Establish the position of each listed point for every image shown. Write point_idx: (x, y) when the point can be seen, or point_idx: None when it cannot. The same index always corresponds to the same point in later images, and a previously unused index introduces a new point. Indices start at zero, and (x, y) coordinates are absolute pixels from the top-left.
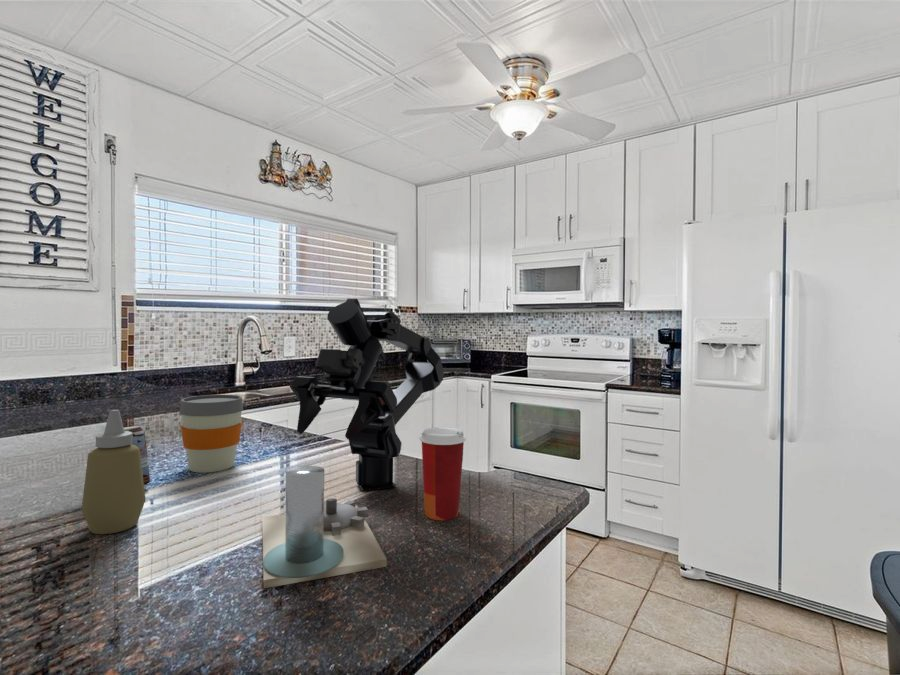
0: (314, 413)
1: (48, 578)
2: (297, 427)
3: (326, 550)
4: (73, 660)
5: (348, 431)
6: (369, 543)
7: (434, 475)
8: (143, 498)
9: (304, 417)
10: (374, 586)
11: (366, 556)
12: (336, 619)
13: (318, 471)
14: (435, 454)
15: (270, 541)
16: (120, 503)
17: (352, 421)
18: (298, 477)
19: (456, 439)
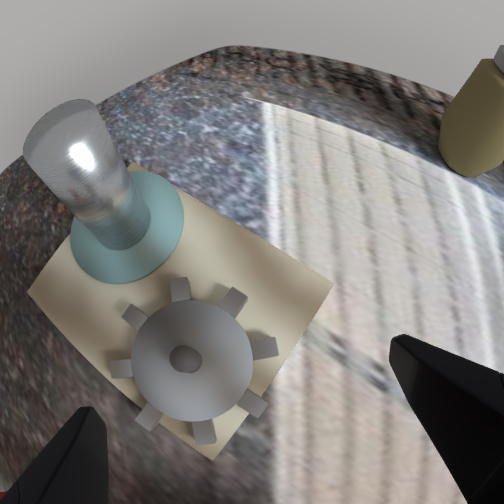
0: (474, 488)
1: (357, 79)
2: (415, 339)
3: (102, 251)
4: (195, 59)
5: (73, 421)
6: (67, 319)
7: (3, 494)
8: (468, 152)
9: (444, 387)
10: (28, 249)
11: (50, 281)
12: (39, 186)
13: (32, 146)
14: None
15: (217, 226)
16: (447, 117)
17: (49, 461)
18: (54, 108)
19: None
